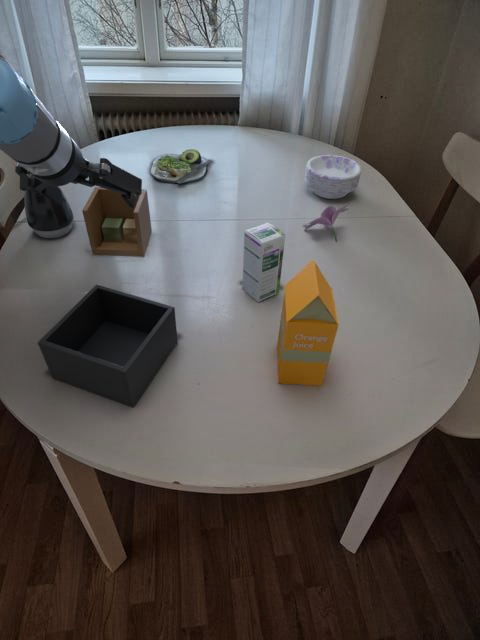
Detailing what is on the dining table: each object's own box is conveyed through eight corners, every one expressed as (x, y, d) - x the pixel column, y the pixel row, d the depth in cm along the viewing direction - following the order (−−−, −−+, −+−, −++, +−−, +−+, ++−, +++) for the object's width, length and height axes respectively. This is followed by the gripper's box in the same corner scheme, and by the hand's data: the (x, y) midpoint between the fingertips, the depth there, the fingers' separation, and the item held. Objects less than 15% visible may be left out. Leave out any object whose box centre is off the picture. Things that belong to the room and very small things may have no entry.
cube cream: (125, 242, 101) (122, 227, 98) (128, 233, 103) (126, 218, 101) (142, 243, 101) (140, 228, 98) (145, 233, 104) (143, 219, 101)
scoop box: (93, 258, 97) (82, 210, 89) (104, 233, 105) (95, 186, 97) (144, 260, 98) (138, 212, 89) (152, 234, 105) (146, 189, 97)
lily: (351, 230, 112) (343, 194, 109) (363, 238, 101) (355, 197, 98) (306, 244, 113) (297, 208, 110) (314, 253, 102) (304, 214, 99)
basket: (52, 378, 72) (37, 342, 66) (105, 319, 83) (96, 284, 77) (133, 407, 69) (125, 372, 63) (177, 342, 79) (174, 306, 73)
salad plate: (206, 190, 123) (206, 174, 120) (144, 186, 123) (142, 171, 120) (213, 162, 137) (212, 147, 134) (157, 158, 137) (156, 144, 134)
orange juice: (318, 348, 79) (339, 259, 66) (322, 386, 73) (347, 296, 59) (275, 346, 80) (288, 256, 66) (277, 383, 73) (290, 293, 59)
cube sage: (104, 241, 101) (101, 226, 98) (108, 232, 103) (105, 217, 101) (121, 242, 101) (119, 227, 98) (125, 233, 103) (122, 218, 101)
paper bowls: (301, 201, 120) (305, 173, 115) (304, 177, 131) (308, 151, 126) (356, 207, 119) (362, 180, 113) (355, 183, 130) (361, 157, 124)
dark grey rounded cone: (26, 245, 100) (4, 183, 90) (40, 221, 108) (21, 162, 97) (70, 245, 101) (54, 184, 90) (81, 222, 108) (66, 163, 98)
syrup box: (258, 303, 88) (263, 243, 78) (240, 288, 91) (243, 228, 81) (279, 293, 91) (287, 234, 81) (261, 279, 94) (267, 220, 84)
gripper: (-48, 174, 58) (27, 216, 79) (136, 181, 59) (162, 221, 80) (-45, 119, 58) (29, 176, 80) (138, 127, 59) (164, 181, 80)
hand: (96, 199), depth 80 cm, fingers open, 13 cm apart
